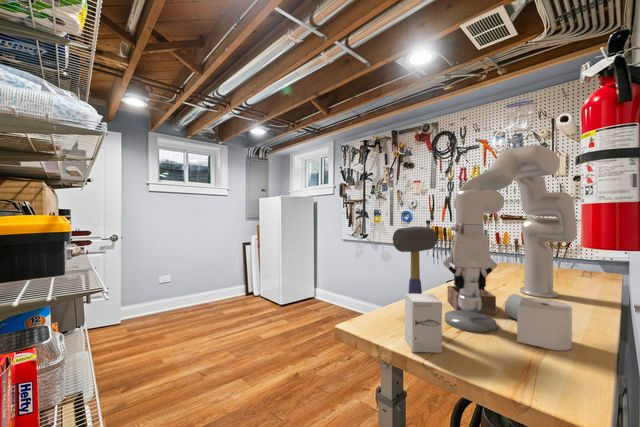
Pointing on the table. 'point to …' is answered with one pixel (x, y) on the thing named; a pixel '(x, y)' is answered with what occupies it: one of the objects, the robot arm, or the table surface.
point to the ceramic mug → (512, 305)
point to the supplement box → (423, 323)
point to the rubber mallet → (414, 250)
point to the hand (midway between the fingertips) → (469, 288)
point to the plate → (470, 321)
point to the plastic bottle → (470, 288)
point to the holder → (486, 299)
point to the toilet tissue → (544, 323)
